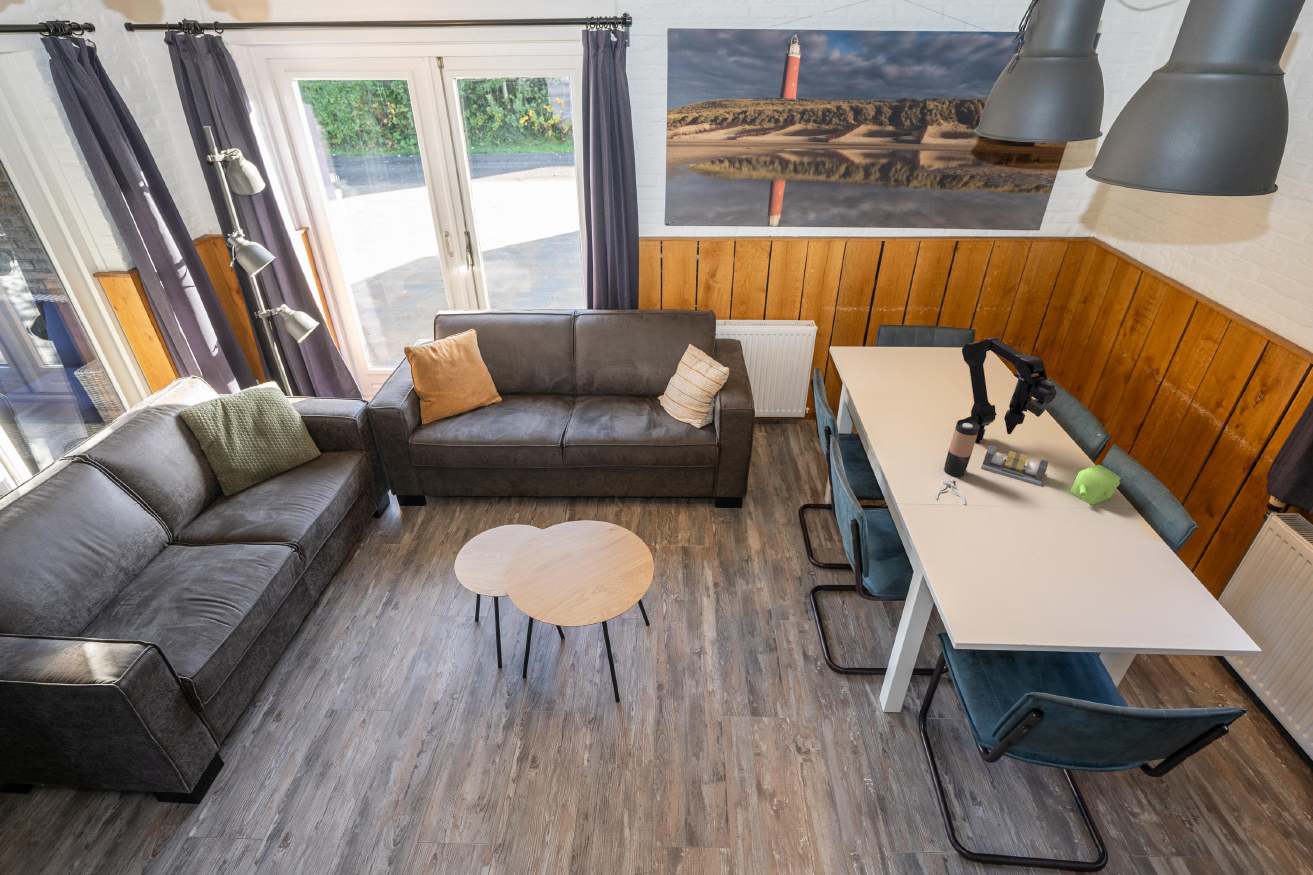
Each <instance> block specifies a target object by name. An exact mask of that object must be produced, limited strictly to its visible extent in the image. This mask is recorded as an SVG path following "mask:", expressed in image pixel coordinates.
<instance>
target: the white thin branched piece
mask: <svg viewBox="0 0 1313 875" xmlns="http://www.w3.org/2000/svg"><path fill="white" fill-rule="evenodd" d="M941 480H942V482H943V485H941V486H940V487H938V488H937V489H936V490H935V493H934V498H935V500H937V501H938V499H939V498H938V497H939V494H944V493H947V492H948V489H947V488H950V489H951V490H950V493H951V494H953V495H955V496H956V497H959V498H960V499H961V501H962V503H963V505H964V506H965V505H966V497H965V496H964V495H963V494H962V492H961V491H960V490H958V489H956V485H955V484H954V476H950V479H949V480H948V479H947V477H946V475H944V474H943V475H942V477H941Z"/></svg>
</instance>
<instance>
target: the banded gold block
mask: <svg viewBox="0 0 1313 875" xmlns="http://www.w3.org/2000/svg"><path fill="white" fill-rule="evenodd" d="M1027 458H1028V455H1026V454H1022V453H1020V452H1016V451H1012V450H1009V451H1008V455H1007V457H1006V462H1005V465H1004V469H1008V470H1011V471H1015V472H1018V473H1022V470H1023V467H1024V465H1025V466H1026V461H1027Z"/></svg>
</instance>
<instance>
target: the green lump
mask: <svg viewBox="0 0 1313 875" xmlns="http://www.w3.org/2000/svg"><path fill="white" fill-rule="evenodd" d="M1120 480H1121V476H1119V475H1118V474H1116V473H1114V472H1113V471H1111V470H1110V469H1108V468H1106V467H1104V466H1103V465H1100V464H1096V465H1093V466H1090V467H1088V468H1085V469H1082V470H1079V472H1078V474H1077V476H1076V477H1075V479H1074V481H1073V484H1072V486H1071V488H1070V491H1069V493H1071V494H1072V495H1074V496H1075V497H1076V498H1079V499H1080V500H1082V501H1084V502H1086V503H1088V504H1089V505H1091V506H1093V505H1095V504H1099V503H1101V502H1103V501H1107V500H1108V498H1109V499H1110V497H1111V498H1112V496H1113V494H1114V492H1115V490H1116V488H1118V487H1119V485H1120V484H1121V481H1120Z"/></svg>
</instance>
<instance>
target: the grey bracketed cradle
mask: <svg viewBox="0 0 1313 875" xmlns="http://www.w3.org/2000/svg"><path fill="white" fill-rule="evenodd" d="M996 449H997V446H995V445H992V444H989V445H988V448H987V449H986V453H985V454H984V458H983V462H982V465H981V467H980V469H982V470H984V471H988V472H991V473H995V474H998V475H1001V476H1004V477H1009V478H1012V479H1015V480H1018V481H1023V482H1025V483H1029V484H1032V485H1036V486H1039V487H1041V486H1042V483H1043V479H1044V477H1045V475H1046V472H1047V470H1048V467H1049V466H1048V465H1049V460H1045V459H1040V461H1039V463H1036V462H1032V461H1028V462H1027V464H1025V465H1024V467H1023V470H1022V473H1018V472H1015V471H1011V470H1008V469H1004V465H1005V462H1006V460H1007V458H1006V459H1005V456H1006V454H1003V453H1000V452H997V451H996Z"/></svg>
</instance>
